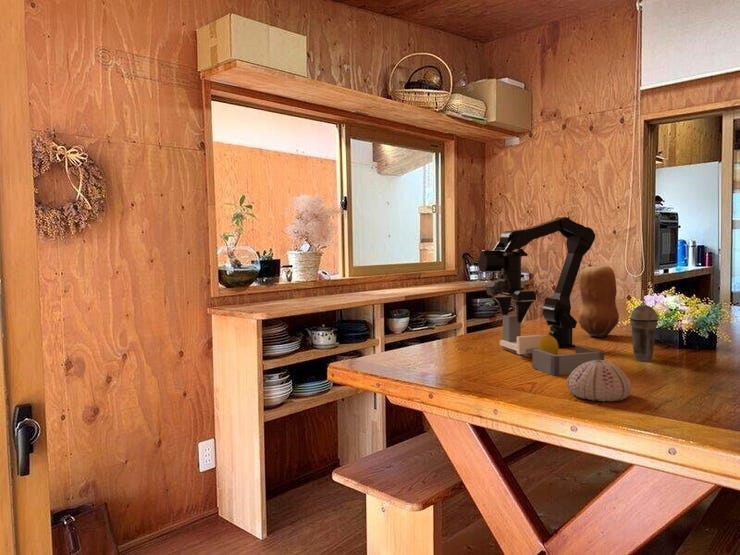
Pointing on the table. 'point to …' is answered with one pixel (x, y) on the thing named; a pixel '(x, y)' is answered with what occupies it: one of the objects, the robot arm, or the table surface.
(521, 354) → the rail
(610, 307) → the butternut squash
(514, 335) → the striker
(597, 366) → the sea urchin shell
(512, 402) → the table surface
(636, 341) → the beverage cup
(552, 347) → the lemon
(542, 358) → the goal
